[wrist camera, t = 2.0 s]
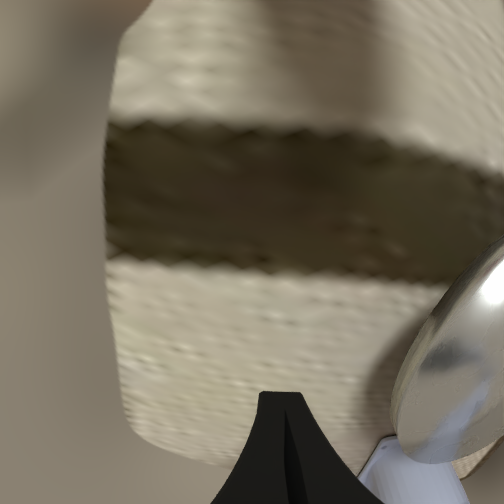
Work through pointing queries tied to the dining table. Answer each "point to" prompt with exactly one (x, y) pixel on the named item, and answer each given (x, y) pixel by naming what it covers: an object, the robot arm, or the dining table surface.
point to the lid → (456, 369)
